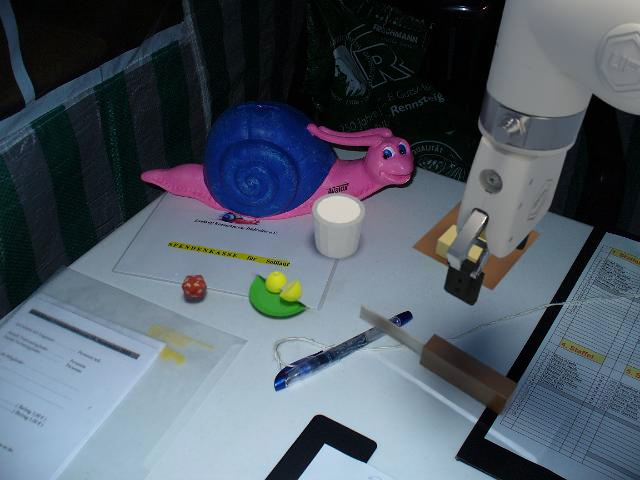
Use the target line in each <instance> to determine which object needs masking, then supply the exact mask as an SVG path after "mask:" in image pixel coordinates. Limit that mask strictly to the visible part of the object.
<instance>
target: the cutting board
mask: <svg viewBox="0 0 640 480" xmlns="http://www.w3.org/2000/svg"><path fill="white" fill-rule="evenodd" d="M461 201H462V199H461V200H460V201H459V202H458V203H457V204H456V205H455V206H454V207H453V208H452V209H451V210H450V211H448V212H447V213H446V214H445V215H443V217H442V218H441V219H440V220H439V221H438V222H437V223H436V224H434V226H433V227H432V228H430V229H429V230H428V231H427V232H426V233H425V234H424V235H423V236H421V238H420V239H419V240H418V241H417V242H415V243H414V244H413V245H412V246H411V248H413V250H415V251H418V252H419V253H422V254H423V255H425V256H426V257H429V258H431V259H433V260H435V261H437V262H438V263H440V264H442V265H444V266H446V267H447V268H448V267H449V265H448V264H447V259H445V258H443V257H441V256H440V255H438V254H436V253H435V251H436V246H437V242H438V239H439V238H440V237H441V236H442V235H443V234H444V233H445V232H446V231H447V230H448V229H449V228H450V227H451V226H452V225H456V226H457V219H458V214H459V209H460V205H461ZM540 235H541V233H540V232H537V231H536V230H534V229H532V230H531V232H530V235H529V237H528V240H527V243H526V246H525V247H524V248H523V249H522V250H518V249H516V248H515V249H514V250H513V251H512V252H511V253H510V254H509V255H507V256H505V257H502V258H498V257H496V256H495V255H493V254H491V255H490V258H489V259H488V261H487V262H486V264H485V266H484V268H483V270H482V272H483V273H485V276H484V279H483V283H482V287H485V288H487V289H488V290H490V291H494V289H495V288H496V287H497V286H498V285H499V283H500V282H501V281H502V280H503V279H504V278H505V276H506V275H507V274H508V273H509V272H510V271H511V270H512V268H513V267H514V266H515V264H517V262H518V261H519V260H520V259H521V257H522V256H523V255H524V254H525V253H526V252H527V250H528V249H529V248H530V247H531V246H532V245H533V244H534V242H535V241H536V240H537V239H538V238H539V236H540Z"/></svg>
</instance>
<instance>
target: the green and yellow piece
mask: <svg viewBox="0 0 640 480" xmlns="http://www.w3.org/2000/svg"><path fill="white" fill-rule="evenodd" d="M283 287H284V288H283ZM282 288H283V289H282ZM248 289H249V290H248V291H249V292H248V295H249V296H248V297H249V300H250V302H251V304H252V305H253V306H254V307H255V308H256V309H257V310H258V311H260V312H261V313H263V314H266V315H269V316H274V317H287V316H292V315H295V314H297V313H299V312H302V311H303V310H304V309H305V308H307V307H308V306H307V305H306V304H304V303H303V302H301V301H300V300H299V299H300V298H301V296H302V293H303V290H302V289H303V288H302V285H301V283H300V282H299V280H298V279H295V280H292V281H291V282H290V283H288V278H287V276H286V274H284V272H281V271H279V270H278V271H277V270H276V271H272V272H270V273H269V274H268V275H267V277H266V278H265V277H263V276H261V275H260V274H259V275H257V276H256V277H255V278H254V279H253V281H252V282H251V284H250V285H249V288H248Z"/></svg>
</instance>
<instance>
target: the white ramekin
mask: <svg viewBox="0 0 640 480" xmlns="http://www.w3.org/2000/svg"><path fill="white" fill-rule="evenodd" d="M311 215H312V225H313V234H314V235H313V236H314V244H315V247H316V250H317V251H318V252H319V253H320V254H321V255H323V256H325V257H327V258H329V259H336V260H338V259H346V258H347V257H350V256H353V255H354V254H355V253H356V252H357V251H358V247H359V244H360V239H361V234H362V230H363V225H364V220H365V215H366V207H365V205H364V203H363V202H362V201H361V200H360V199H359V198H358V197H355V196H353V195H350V194H348V193H342V192H334V193H327V194H325V195H322V196H320V197H318V199H316V200H315V201H314V202H313V205H312V206H311Z"/></svg>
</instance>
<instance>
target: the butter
mask: <svg viewBox="0 0 640 480" xmlns="http://www.w3.org/2000/svg"><path fill="white" fill-rule="evenodd" d="M456 236H457V231H456V225H452V226H451V227H450V228H449V229H448V230H447V231H446V232H445V233H444V234H443V235H442V236H441V237H440V238H439V239H438V242H437V246H436V251H435V253H436V254H438V255H440V256H441V257H443V258H445V259H447V250H448V248H449V247H450V245H451V244H452V242H453V241H454V239H455V238H456ZM478 238H479V239H481V240H483V241H485V242H487V241H486V240H484V239H482V238H480V237H478ZM482 250H483V249H482V248H480V247H478V246H476V245H473V246H472V248H471V249H470V251H469V254H468V256H469V257H468V259H469V260H471V261H472V262H474V263H476V261H477V259H478V257H479V256H480V254H481V252H482ZM489 258H490V257H489ZM489 258H488V259H489ZM487 261H488V260H487Z"/></svg>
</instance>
